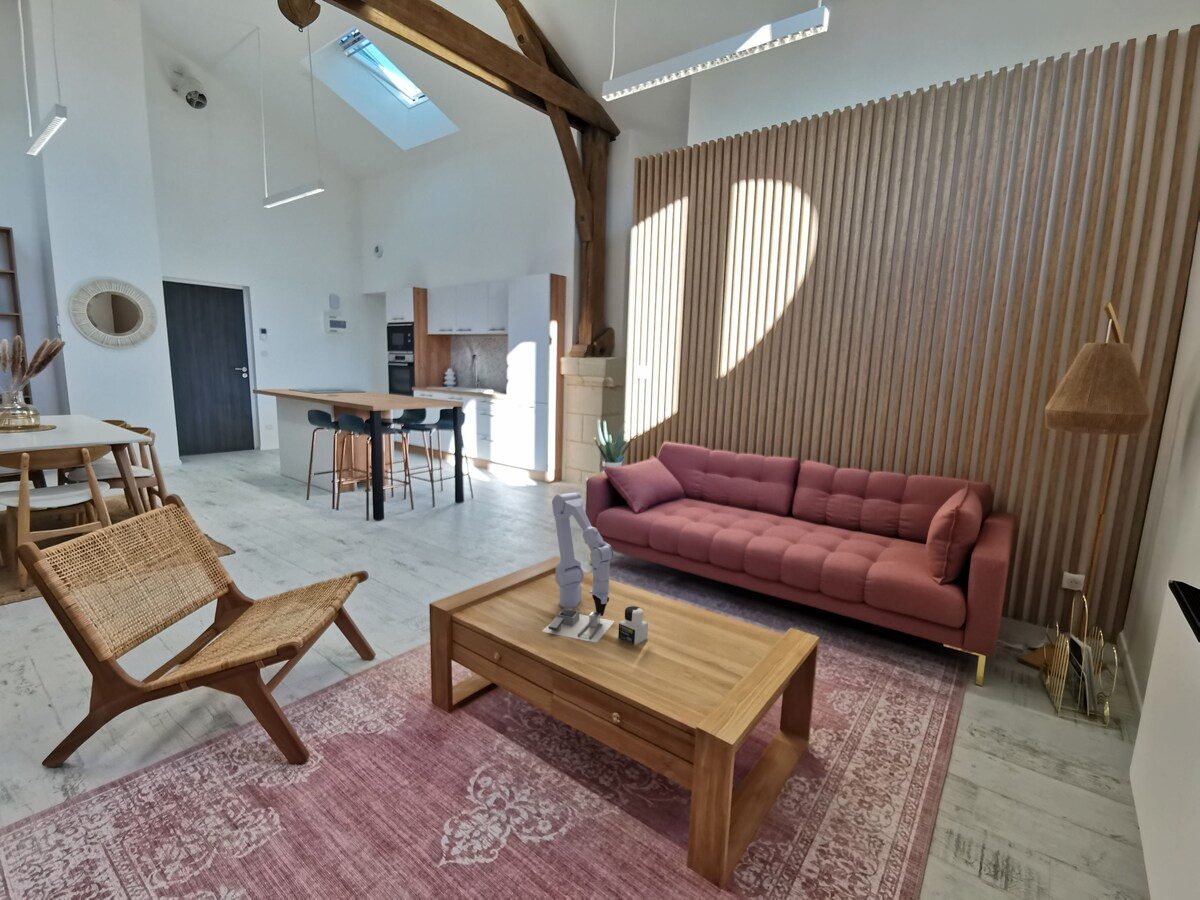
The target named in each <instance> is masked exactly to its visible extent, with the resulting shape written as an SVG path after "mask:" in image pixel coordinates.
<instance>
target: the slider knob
mask: <svg viewBox="0 0 1200 900" xmlns="http://www.w3.org/2000/svg"><path fill="white" fill-rule="evenodd" d="M588 616H589V626H592V627H598V626H599V625H600V618H601V616H600V613H597V612H596V611H592V612H590V614H589V615H588Z"/></svg>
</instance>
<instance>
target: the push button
mask: <svg viewBox="0 0 1200 900" xmlns="http://www.w3.org/2000/svg"><path fill="white" fill-rule="evenodd" d="M562 610H563V615H564V616H569V617H573V616H574V610H575V607H573V608H571V607H566V608H565V607H562Z"/></svg>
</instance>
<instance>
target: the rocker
mask: <svg viewBox="0 0 1200 900" xmlns="http://www.w3.org/2000/svg"><path fill="white" fill-rule="evenodd" d="M563 621H564V618H560V617H557V616H555V617H554V619H553V620H552V621H551V622H550V623H551V624H550V623H549V624H550V625H549V624H548V625H549V626H548V625H547V626H548V627H549V629H551V630H556V631H557V629H558V628H559V627H560V625H561V624H562V623H563Z"/></svg>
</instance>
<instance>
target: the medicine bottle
mask: <svg viewBox="0 0 1200 900" xmlns="http://www.w3.org/2000/svg"><path fill="white" fill-rule="evenodd" d="M643 618H644V610H643V609H642V607H640V606H639V607H638V606H636V605H635V606H633V605H632V606H627V607H626V608H625V609H624V620H621V621H619V622H618V633H617V635H618V637H617V639H619V640H621V641H623V642H626V643H628V644H630V645H632V646H636V645H638V644H640V643H642V642H644V641H646V640H647V639H648V633H649V623H648V622H647V621H644V619H643ZM645 643H648V641H646V642H645Z"/></svg>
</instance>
